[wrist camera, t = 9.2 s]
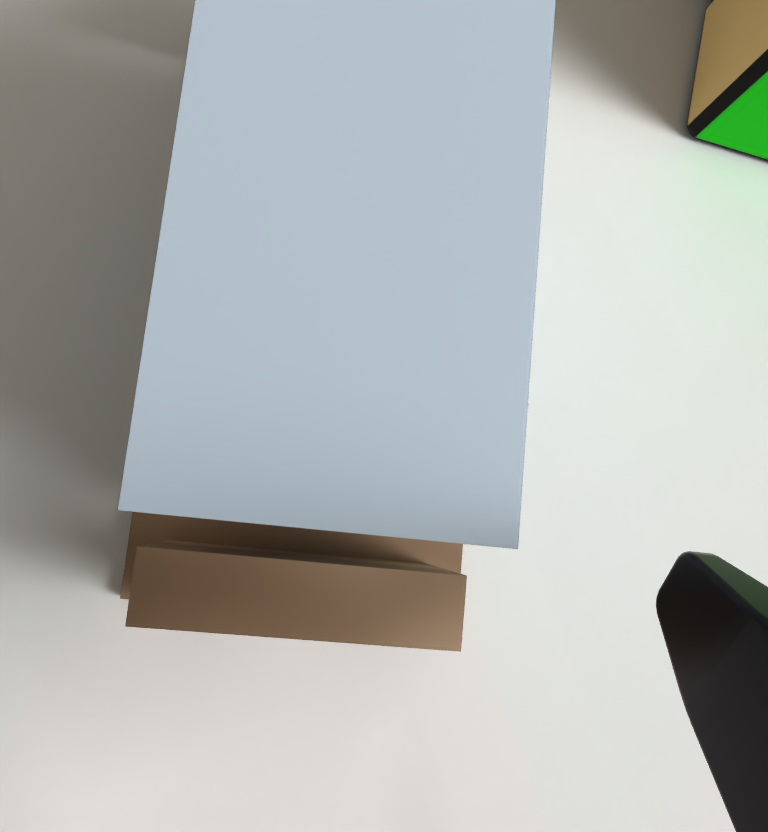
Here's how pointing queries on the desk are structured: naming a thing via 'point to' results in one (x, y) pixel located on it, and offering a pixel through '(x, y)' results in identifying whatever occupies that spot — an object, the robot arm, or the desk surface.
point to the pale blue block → (348, 270)
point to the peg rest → (293, 583)
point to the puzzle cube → (733, 77)
